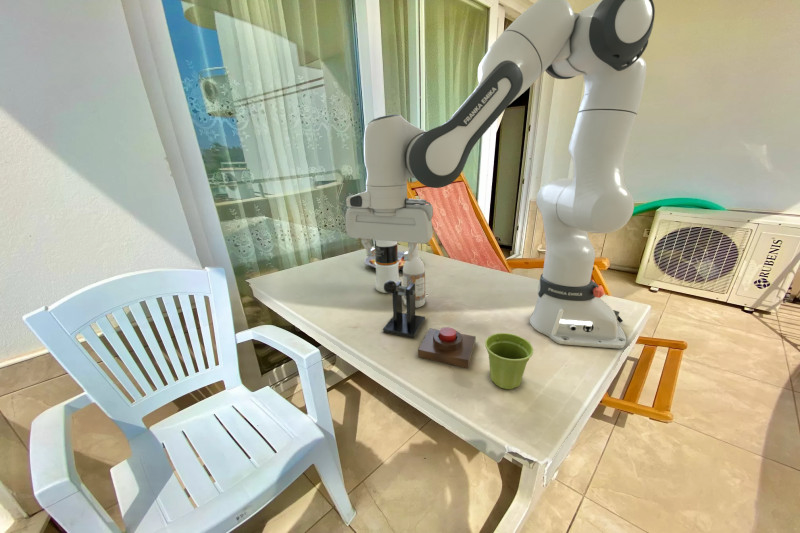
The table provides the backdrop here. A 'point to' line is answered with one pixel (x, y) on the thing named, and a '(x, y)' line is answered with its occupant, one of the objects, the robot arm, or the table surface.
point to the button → (447, 334)
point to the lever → (394, 288)
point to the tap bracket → (404, 315)
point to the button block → (447, 348)
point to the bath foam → (415, 277)
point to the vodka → (386, 263)
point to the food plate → (371, 261)
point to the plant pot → (507, 358)
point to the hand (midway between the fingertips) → (389, 258)
